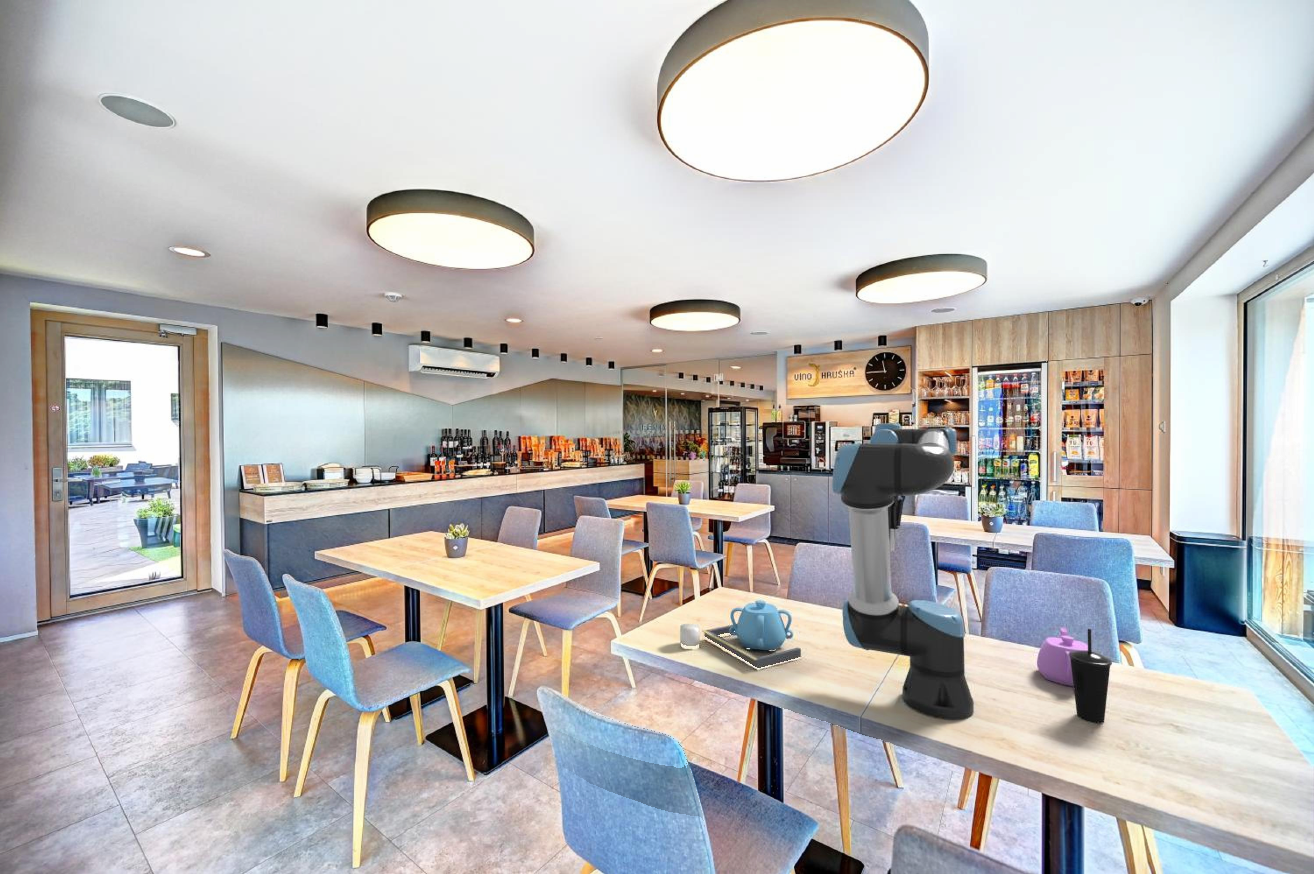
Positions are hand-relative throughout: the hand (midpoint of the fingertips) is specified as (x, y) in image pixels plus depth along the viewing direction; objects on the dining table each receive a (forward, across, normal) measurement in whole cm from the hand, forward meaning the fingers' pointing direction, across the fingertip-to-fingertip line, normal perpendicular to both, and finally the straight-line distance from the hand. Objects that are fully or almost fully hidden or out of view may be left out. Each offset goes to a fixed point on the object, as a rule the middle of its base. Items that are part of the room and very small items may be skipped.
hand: (889, 549), depth 166 cm
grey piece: (+29, +39, -19) cm, 52 cm away
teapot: (+30, -21, +38) cm, 53 cm away
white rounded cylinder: (+30, +54, -30) cm, 68 cm away
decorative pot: (+30, +34, -20) cm, 49 cm away
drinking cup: (+30, -2, +51) cm, 59 cm away
